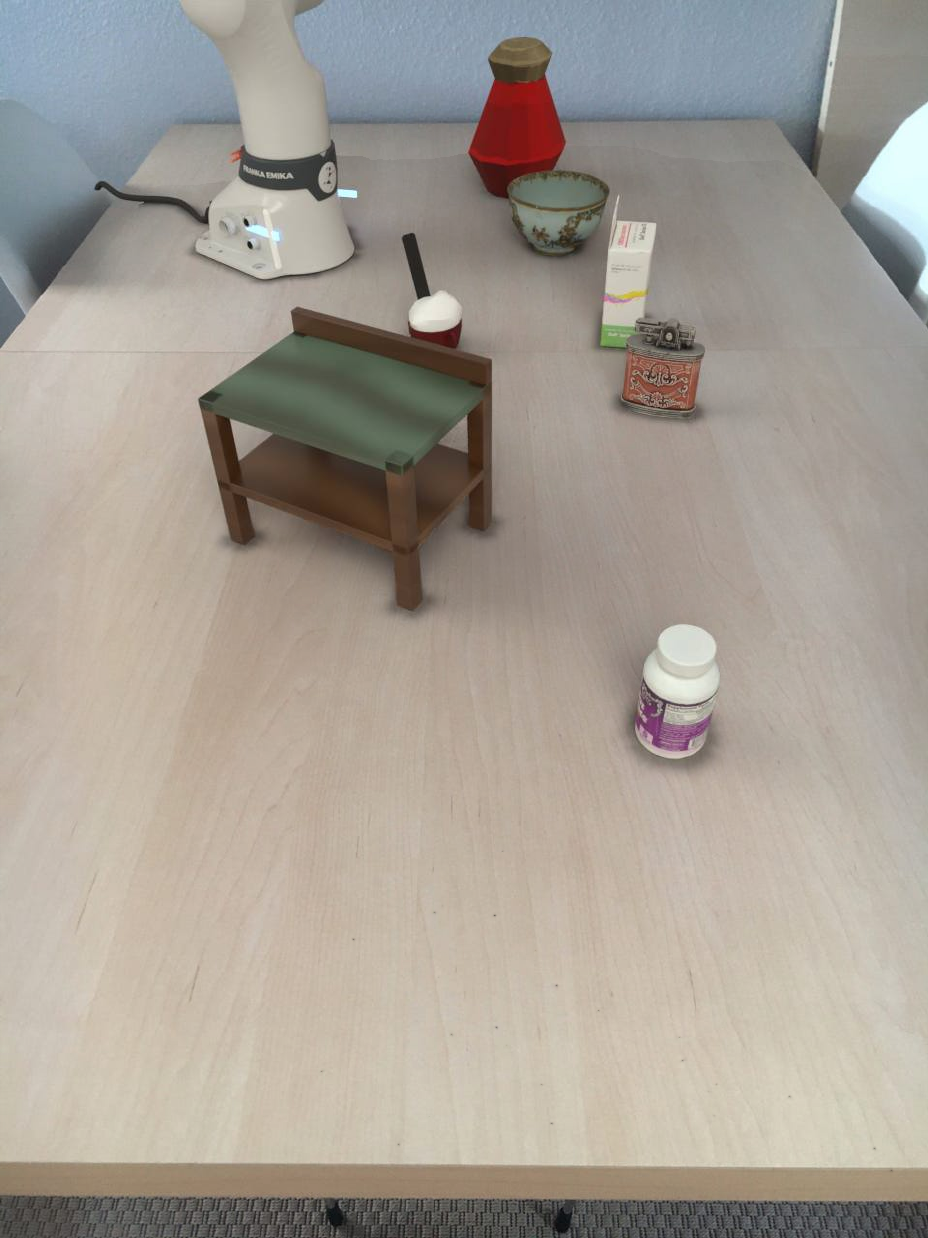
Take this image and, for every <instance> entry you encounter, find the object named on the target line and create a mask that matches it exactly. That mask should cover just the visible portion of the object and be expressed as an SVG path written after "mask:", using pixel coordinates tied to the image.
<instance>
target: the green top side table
mask: <svg viewBox="0 0 928 1238" xmlns="http://www.w3.org/2000/svg"><path fill="white" fill-rule="evenodd" d="M290 317H291V322H292V329H293V331H292V332H291V333H290V334H288V335H286V336H285V337H284V338H282V339H281V340H280V341H278V342H276V343H275V344H274V345H272V346H271V347H270V348H268V349H267V350H265V351H264V352H263V353H260V355H258V356H256V357H255V358H254V359H253V360H251V361H250V362H248V363H247V364H245V365H244V366H242V367H241V368H239V369H238V370H236V371H235V372H234V373H232V374H231V375H229V376H228V377H227V378H225V379H223V380H222V381H221V382H220V383H218V384H217V385H215V386H214V387H212V388H211V389H210V390H208V391H207V392H205V393H204V394H202V395H201V396H199V397H198V398H197V401H198V406H199V409H200V410H199V411H200V413H201V414H200V415H201V418H202V422H203V427H204V430H205V435H206V439H207V444H208V448H209V452H210V456H211V461H212V464H213V469H214V470H213V471H214V473H215V478H216V483H217V486H218V490H219V491H218V492H219V495H220V499H221V502H222V508H223V512H224V516H225V521H226V525H227V529H228V534H229V537H230V541H233V542H236V543H238V544H240V545H243V546H244V545H247V543H248V542H249V541H250V540H252V539H253V538H254V537H255V531H254V527H253V521H252V518H251V512H250V507H249V503H248V499H249V500H252V501H255V502H258V503H260V504H263V505H266V506H269V507H271V508H274V509H277V510H279V511H282V512H285V513H288V514H290V515H293V516H295V517H299V518H301V519H304V520H307V521H308V522H309V521H310V522H312V523H314V524H317V525H320V526H323V527H326V528H329V529H331V530H334V531H336V532H339V533H341V534H345V535H347V536H349V537H353V538H355V539H358V540H361V541H364V542H365V543H369V544H372V545H374V546H377V547H380V548H383V549H386V550H388V551H390V552H392V560H393V570H394V581H395V593H396V604H397V606H398V607H401V608H404V609H406V610H409V611H411V612H414V611H415V610H416V608H418V606H419V605H420V604H421V603H422V602H423V588H422V571H421V570H422V569H421V557H420V546H421V545H422V544H423V543H424V542H425V541H426V540H427V539H428V538H429V537H430V535H432V533H433V532H434V531H435V530H436V529H438V527H439V526H440V525H441V524H442V523H443V522H444V520H446V519H447V517H449V515H451V513H453V511H454V510H455V509H456V508H457V507H458V506H459V505H460V504H461V503H462V502H463V501H464V500H465V499H466V497H468V526H469V527H470V528H473V529H476V530H479V531H482V532H484V531H485V530H486V529H488V527H489V526H490V525H491V524H492V522H493V359H492V358H489V357H486V356H483V355H479V354H474V353H471V352H467V351H464V350H460V349H457V348H456V349H453V348H449V347H445V346H442V345H438V344H434V343H430V342H427V341H423V340H419V339H416V338H412V337H411V336H408V335H404V334H400V333H397V332H393V331H389V330H386V329H383V328H378V327H375V326H371V325H367V324H363V323H360V322H356V321H352V320H348V319H345V318H341V317H338V316H333V315H330V314H326V313H323V312H319V311H315V310H312V309H308V308H305V307H301V306H296V307H294V308H293V309H291V310H290ZM465 417H466V428H467V431H466V432H467V452H466V451H464V450H463V451H462V450H459V449H457V448H453V447H450V446H446V445H444V444H440V443H439V442H440V441H441V440H443V438H444V437H445V436H447V435H448V434H449V433H450V432H451V431H452V430H453V429H454V428H455V427H456V426H457V425H458V424H459V423H460V422H462V420H463V419H464V418H465ZM231 420H233V421H236V422H239V423H242V424H244V425H248V426H250V427H252V428H253V427H254V428H256V429H259V430H263V431H265V432H268V433H272V434H271V435H270V436H268V437H267V438H266V439H264V440H263V441H262V442H261V443H259V444H258V445H257V446H256V447H254V449H252V450H250V451H249V452H248V453H247V454H245V455H244V456H243V457H242V458H240V459H239V455H238V451H237V446H236V443H235V435H234V431H233V427H232V423H231Z"/></svg>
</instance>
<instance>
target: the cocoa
mask: <svg viewBox="0 0 928 1238" xmlns="http://www.w3.org/2000/svg"><path fill="white" fill-rule="evenodd" d="M401 241H402V244H403V248H404V252H405V256H406V260H407V264H408V268H409V272H410V275H411V279H412V283H413V287H414V291H415V294H416V298H417V300H415V301H414V303H413V304H412V306H411V307H410V308H409V310H408V319H409V320H408V322H407V327H408V333H409V337H412V338H416V339H419V340H423V341H427V342H430V343H434V344H438V345H442V346H445V347H449V348H453V349H456V350H457V348H458V345H459V343H460V340H461V339H460V338H461V334H462V329H463V306H462V305H461V304H460V303H459V302H458V300H457V298H456V297H455V296H453V295H452V294H450V293H449V292H448V291H446V289H441V290H440V289H439V290H437V291H436V292H435V293H433V294H432V295H431V292H430V287H429V284H428V279H427V275H426V272H425V268H424V264H423V261H422V257H421V252H420V247H419V245H418V241H417V236H416V234H415V233H414V232H410V233H406V234H403V235H402V237H401Z"/></svg>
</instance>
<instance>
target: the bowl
mask: <svg viewBox="0 0 928 1238" xmlns="http://www.w3.org/2000/svg"><path fill="white" fill-rule="evenodd" d="M507 192H508V194H509V198H508V201H509V210H510V215H511V216H510V217H511V220H512V223H513V224H514V226H515V228H516V230H517V232H518V233H519V234H520V235H521V236H522V237H523V239H525V240H526V241H527V242H529V243H531V244H532V247H533V250H534V251H535V252H537V253H539V254H540V255H543V256H551V257H559V256H561V257H562V256H566V255H569V254H572V253H573V252H575V251H576V250H577V248H578V246H579V245H580V244H583V243H584V242H586V241H587V240H588V239H589V238H590V237H591V236H592V235H593V234H594V233H595V231H596V230H597V229H598V227H599V225H600V223H601V221H602V218H603V216H604V212H605V208H606V203H607V200H608V198H609V196H610V187H609V185H608V184H607V183H606V182H605V181H603V179H600V178H598V177H595V176H594V175H591V174H589V173H588V174H587V173H582V172H578V171H572V170H571V171H570V170H561V169H560V170H553V171H542V172H536V173H530V174H526V175H523V176H521V177H518V178H516V179H514V180H513V181H512V182H511V183H510V184H509V185H508V188H507Z"/></svg>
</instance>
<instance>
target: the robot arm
mask: <svg viewBox="0 0 928 1238" xmlns="http://www.w3.org/2000/svg"><path fill="white" fill-rule="evenodd" d="M323 2H325V0H178V3H179V5H180V7H181V9H182V11H183V12H184V14H185V16H186V17H187V19H188V20H189V22H191V23H192V25H193V26H194V27H196V28H197V29H198V30H199V31H200V32H201V33H203V34H204V35H206V36H207V37H208V38H209V40H211V41H212V43H213V44H214V46H215V48H216V49H217V51H218V53H219V54H220V56H221V58H222V60H223V62H224V64H225V67H226V69H227V71H228V75H229V77H230V80H231V83H232V86H233V90H234V94H235V99H236V104H237V105H236V106H237V110H238V116H239V121H240V126H241V132H242V137H243V142H244V144H243V145H241V146H240V148H239V149H237V150H235V151H232V152H231V153H229V156H231V157H232V156H233V158H231V159H230V163H236V162H237V161H239V160H240V161H239V168H238V173H237V174H238V175H236V176H235V177H234V178H233V179H232V180H231V181H230V182H229V183H228V184H227V185H226V186H225V187H224V188H223V189H222V190H221V191H220V192H219V193H218V194H217V195H215V197H213V199H212V200H210V201H208V202H209V205H208V206H207V207H206V209H205V211H204V215H200V214H199V213H198V212H197V211H196V209H194V207H193V206H192V205H190V204H189V203H188V202H186V201H185V200H182V199H180V198H177V197H173V196H166V195H165V196H164V195H146V194H145V195H144V194H143V195H142V194H130V193H124V192H121V191H119V190H117V189H116V188H115V187H113V186H112V185H111V184H109V182H107V181H104V180H100V181H99V180H98V181H97V183H95V185H94V188H93V190H94V191H97V192H98V191H101V189H102V188H103V189H105V190H106V191H108V192H109V193H110V194H111V195H113V196H114V197H116V198H118V199H120V200H124V201H129V202H136V203H137V202H138V203H139V202H140V203H160V204H161V203H162V204H171V205H176V206H179V207H181V208H183V209H184V210H185V211H187V213H189V214H190V216H191V217H193V218H194V219H195V220H196V221H197V222H199V223H201V224H206V223H208V230H206V231H205V232H204V233H202V234H201V235H200V236H199V237H198V238H197V240H196V241H195V244H194V245H195V252H196V253H198V254H200V255H203V256H205V257H206V258H209V259H212V260H214V261H217V262H219V263H220V264H221V263H222V264H224V265H226V266H229V267H231V268H233V269H236V270H238V271H240V272H242V273H245V274H247V275H250V276H252V277H254V278H257V279H259V280H270V279H276V278H279V277H284V276H291V275H292V276H295V275H306V274H315V273H319V272H324V271H327V270H330V269H332V268H335V267H338V266H340V265H342V264H343V263H345V262H347V260H349V259H350V258H351V257H352V256H353V254H354V253H355V245H354V243H353V239H352V237H351V235H350V232H349V228H348V225H347V222H346V218H345V214H344V211H343V207H342V202H341V197H342V198H343V197H344V198H354V199H355V198H358V191H357V190H353V189H351V190H350V189H339V188H338V181H339V180H338V177H339V176H338V174H339V168H338V159H337V151H336V145H335V141H334V140H333V139H332V136H331V135H332V134H331V128H330V119H329V108H328V101H327V100H328V99H327V90H326V82H325V78H324V76H323V74H322V73H321V71H320V70H319V69H318V67H317V66H316V65H314V64H313V63H311V62H310V61H309V60H308V59H307V58H306V56H305V53H304V51H303V49H302V47H301V44H300V41H299V38H298V34H297V31H296V26H295V25H296V24H295V20H296V19H295V18H296V17H297V16H300V15H303V14H304V13H306V12H309V11H311V10H314V9H316V8H318V7H319V6H320V5H321V4H322V3H323Z"/></svg>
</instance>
